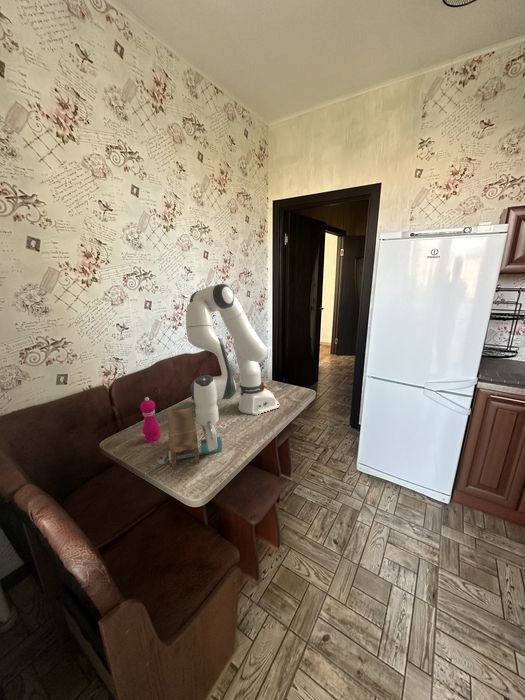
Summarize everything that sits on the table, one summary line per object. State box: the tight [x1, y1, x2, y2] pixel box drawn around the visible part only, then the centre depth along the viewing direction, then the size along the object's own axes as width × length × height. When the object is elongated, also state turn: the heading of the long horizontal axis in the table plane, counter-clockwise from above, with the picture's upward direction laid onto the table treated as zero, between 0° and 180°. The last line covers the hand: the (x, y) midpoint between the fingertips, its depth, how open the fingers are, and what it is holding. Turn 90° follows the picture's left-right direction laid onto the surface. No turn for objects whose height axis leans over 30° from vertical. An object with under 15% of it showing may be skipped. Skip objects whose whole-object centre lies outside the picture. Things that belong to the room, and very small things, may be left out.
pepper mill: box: [140, 396, 161, 443], centre depth 122 cm, size 7×7×20 cm
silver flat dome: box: [156, 455, 169, 466], centre depth 109 cm, size 4×4×1 cm
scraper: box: [168, 436, 223, 465], centre depth 112 cm, size 20×6×5 cm, turn 109°
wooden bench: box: [167, 407, 201, 470], centre depth 113 cm, size 10×20×14 cm, turn 19°
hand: (210, 446), depth 114 cm, fingers closed on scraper, 3 cm apart
